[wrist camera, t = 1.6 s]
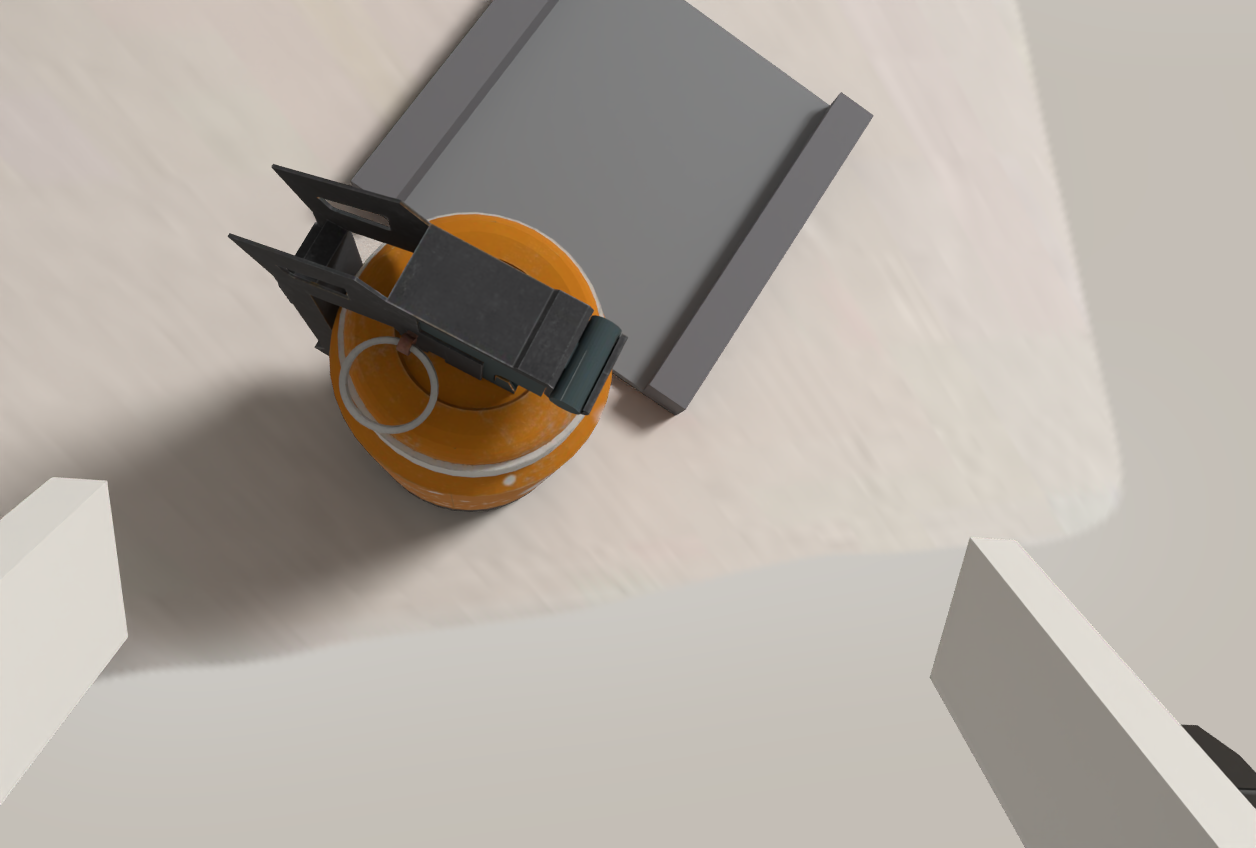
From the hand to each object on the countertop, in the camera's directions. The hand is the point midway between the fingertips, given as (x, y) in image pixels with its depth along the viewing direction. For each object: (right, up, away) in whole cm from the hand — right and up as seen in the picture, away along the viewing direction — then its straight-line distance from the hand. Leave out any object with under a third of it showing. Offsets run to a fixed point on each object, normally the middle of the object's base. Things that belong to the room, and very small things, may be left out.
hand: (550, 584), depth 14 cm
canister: (-7, +3, +27) cm, 28 cm away
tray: (+1, +15, +30) cm, 34 cm away
